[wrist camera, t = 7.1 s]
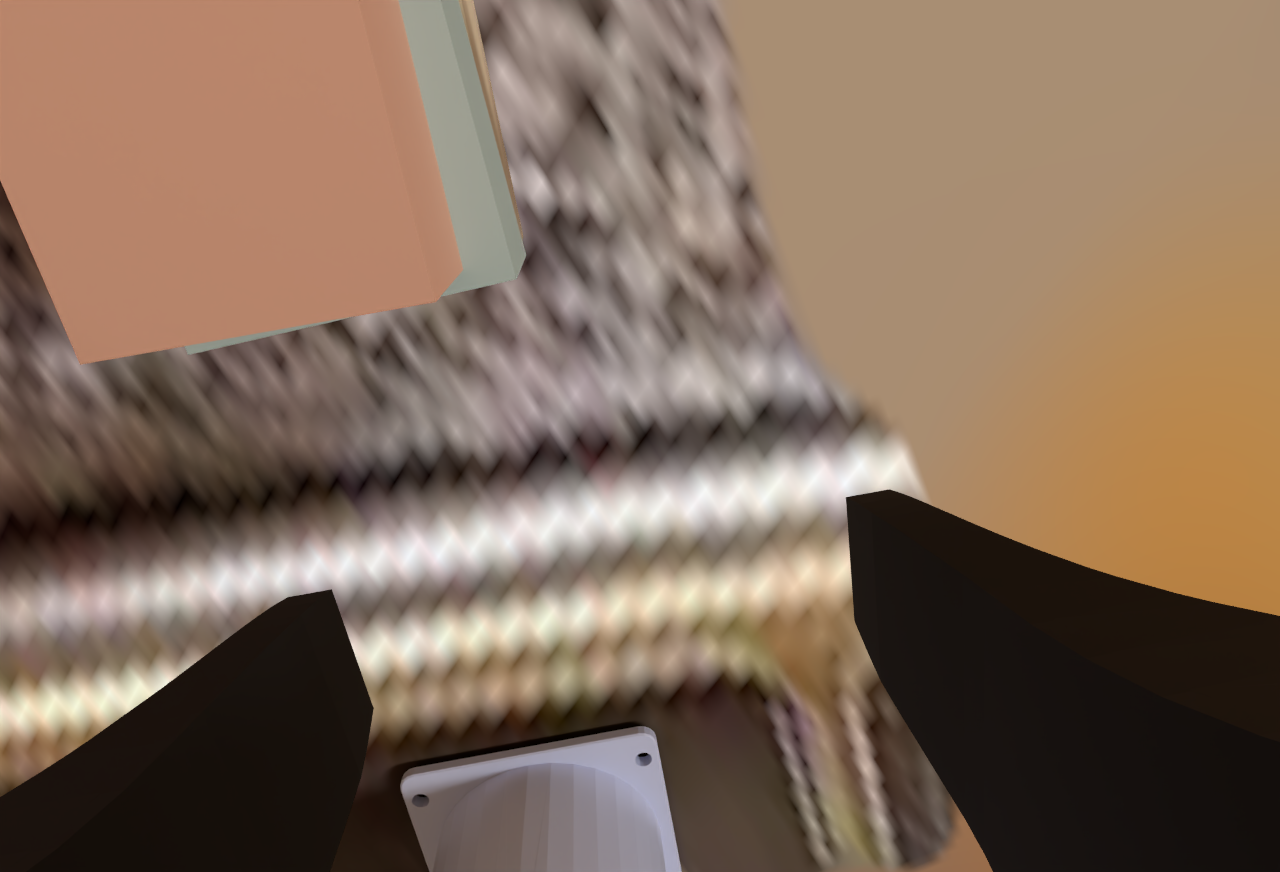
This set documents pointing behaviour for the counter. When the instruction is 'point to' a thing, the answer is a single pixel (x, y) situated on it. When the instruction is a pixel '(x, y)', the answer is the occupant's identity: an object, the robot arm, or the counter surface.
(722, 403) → the counter surface
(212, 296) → the terracotta block
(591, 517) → the counter surface
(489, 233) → the middle block
